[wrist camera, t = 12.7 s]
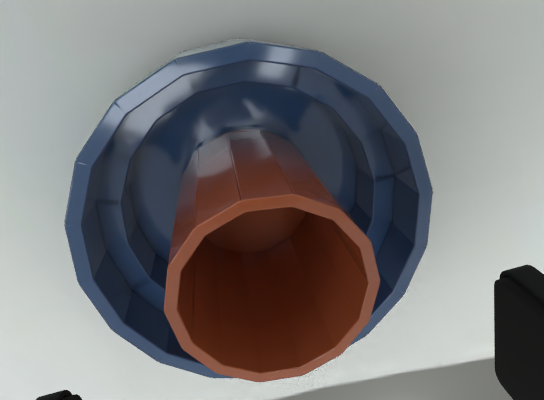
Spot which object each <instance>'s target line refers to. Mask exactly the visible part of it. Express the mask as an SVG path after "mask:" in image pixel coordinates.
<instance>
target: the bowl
mask: <svg viewBox="0 0 544 400" xmlns="http://www.w3.org/2000/svg"><path fill="white" fill-rule="evenodd" d="M239 129H260V130H264V131H269V132H272V133H274V134H277V135H279V136H281V137H283V138H285V139H286V140H288V141H289V142H291V143H292V144H293V145H294V146H295V147H296V148H297V149H298V150H299V151H300V153H301V154H302V155H303V156H304V157H305V158H306V159H307V160H308V161H309V162H310V164H311V165H312V166H313V168H314V169H315V170H316V171H317V173H318V174H319V175H320V177H321V178H322V179H323V180H324V182H325V183H326V184H327V185H328V187H329V188H330V189H331V191H332V192H333V193H334V194H335V196H336V197H337V198H338V200H339V201H340V202H341V203H342V205H343V206H344V207H345V209H346V210H347V211H348V212H349V214H350V215H351V216H352V218H353V219H354V220H355V221H356V223H357V224H358V225H359V226H360V228H361V229H362V230H363V232H364V233H365V234H366V235H367V237H368V238H369V239H370V241H371V243H372V247H373V251H374V256H375V260H376V264H377V269H378V273H379V277H380V285H379V289H378V292H377V296H376V299H375V303H374V306H373V310H372V314H371V317H370V320H369V322H368V324H367V325H366V326H365V327H364V328H363V329H362V331H361V332H360V333H359V334H358V335H357V337H356V338H355V339H354V340H353V341H352V343H351V344H350V345H352V344H353V343H355V342H357V341H358V340H360V339H362V338H363V337H365V336H366V334H368V333H369V332H370V331H371V330H372V329H373V328H374V327H375V326H376V325H377V324H378V323H379V322H380V320H381V319H382V318H383V317H384V316H385V315H386V314H387V313H388V312H389V311H390V310H391V309H392V307H393V306H394V305H395V304H396V303H397V302H398V301H399V300H400V299H401V298H402V297H403V294H405V292H406V289H407V287H408V285H409V283H410V281H411V279H412V277H413V275H414V272H415V270H416V268H417V266H418V264H419V262H420V260H421V258H422V255H423V253H424V251H425V249H426V245H427V242H428V233H429V223H430V213H431V203H432V193H433V191H432V186H431V182H430V179H429V175H428V171H427V168H426V164H425V160H424V157H423V153H422V149H421V146H420V142H419V139H418V135H417V133H416V131H415V130H414V129H413V128H412V126H411V125H410V124H409V122H408V121H407V120H406V119H405V117H404V116H403V115H402V113H401V112H400V111H399V110H398V108H397V107H396V106H395V104H394V103H393V102H392V100H391V99H390V98H389V97H388V95H387V94H386V93H385V91H384V90H383V89H382V88H381V86H379V85H378V84H377V83H375V82H374V81H372V80H370V79H368V78H367V77H365V76H363V75H361V74H360V73H358V72H356V71H354V70H353V69H351V68H349V67H347V66H346V65H344V64H342V63H340V62H339V61H337V60H335V59H333V58H332V57H330V56H328V55H326V54H325V53H323V52H319V51H317V50H312V49H307V48H302V47H297V46H292V45H285V44H278V43H271V42H264V41H257V40H249V39H242V38H239V39H231V40H227V41H223V42H219V43H215V44H210V45H206V46H202V47H198V48H194V49H189V50H185V51H183V52H180V53H178V54H177V55H176V56H174V57H173V58H171V59H170V60H168V61H167V62H165V63H164V64H163V65H161V66H160V67H158V68H157V69H155V70H154V71H153V72H151V73H150V74H148V75H147V76H145V77H144V78H142V79H141V80H140V81H138V82H137V83H135V84H134V85H133V86H132V87H130V88H129V89H128V90H127V91H125V92H124V93H123V94H122V95H120V96H119V97H118V98H117V99H116V100H115V101H114V102H113V103H112V104H111V106H110V107H109V109H108V110H107V112H106V113H105V115H104V116H103V118H102V120H101V121H100V123H99V124H98V126H97V127H96V129H95V130H94V132H93V133H92V135H91V136H90V138H89V140H88V141H87V143H86V144H85V146H84V147H83V149H82V150H81V152H80V153H79V155H78V156H77V158H76V161H75V165H74V170H73V176H72V182H71V188H70V193H69V199H68V205H67V210H66V216H65V225H64V226H65V230H66V234H67V238H68V242H69V247H70V251H71V255H72V259H73V263H74V268H75V272H76V276H77V280H78V283H79V285H80V286H81V288H82V289H83V291H84V292H85V293H86V295H87V296H88V298H89V299H90V300H91V302H92V303H93V305H94V306H95V307H96V309H97V310H98V312H99V313H100V314H101V316H102V317H103V319H104V320H105V321H106V323H107V324H108V326H109V327H110V328H111V329H112V330H113V331H114V332H115V333H117V334H118V335H119V336H121V337H122V338H124V339H125V340H127V341H128V342H130V343H131V344H133V345H134V346H136V347H137V348H138V349H140V350H141V351H143V352H144V353H146V354H147V355H149V356H150V357H152V358H153V359H154V360H156V361H158V362H160V363H163V364H166V365H169V366H173V367H176V368H180V369H183V370H186V371H190V372H193V373H197V374H200V375H203V376H207V377H210V378H212V377H213V378H235V377H230V376H225V375H221V374H217V373H215V372H213V371H212V370H211V369H209V368H208V367H206V366H205V365H204V364H202V363H201V362H199V361H198V360H197V359H195V358H194V357H193V356H191V355H190V354H188V353H187V352H186V351H184V350H183V349H182V348H181V346H180V344H179V342H178V340H177V338H176V336H175V334H174V331H173V329H172V327H171V325H170V323H169V321H168V319H167V317H166V315H165V313H164V300H165V289H166V277H167V267H168V260H169V254H170V247H171V241H172V234H173V228H174V221H175V215H176V208H177V202H178V195H179V189H180V182H181V177H182V175H183V173H184V171H185V169H186V167H187V165H188V163H189V161H190V160H191V158H192V157H193V155H194V154H195V153H196V152H197V151H198V150H199V149H200V148H201V147H202V146H203V145H204V144H206V143H207V142H208V141H210V140H211V139H213V138H215V137H217V136H219V135H221V134H223V133H226V132H229V131H233V130H239ZM350 345H349V346H350Z"/></svg>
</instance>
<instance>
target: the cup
mask: <svg viewBox="0 0 544 400" xmlns="http://www.w3.org/2000/svg"><path fill="white" fill-rule="evenodd" d="M379 285H380V277H379V273H378V269H377V264H376V260H375V256H374V251H373V247H372V243H371V241H370V239H369V238H368V237H367V235H366V234H365V233H364V232H363V230H362V229H361V228H360V226H359V225H358V224H357V223H356V221H355V220H354V219H353V218H352V216H351V215H350V214H349V212H348V211H347V210H346V209H345V207H344V206H343V205H342V203H341V202H340V201H339V200H338V198H337V197H336V196H335V194H334V193H333V192H332V191H331V189H330V188H329V187H328V185H327V184H326V183H325V182H324V180H323V179H322V178H321V177H320V175H319V174H318V173H317V171H316V170H315V169H314V168H313V166H312V165H311V164H310V162H309V161H308V160H307V159H306V158H305V157H304V156H303V155H302V154H301V153H300V151H299V150H298V149H297V148H296V147H295V146H294V145H293V144H292V143H291V142H289V141H288V140H286V139H285V138H283V137H281V136H279V135H277V134H274V133H272V132H269V131H264V130H260V129H239V130H233V131H229V132H226V133H223V134H221V135H219V136H217V137H215V138H213V139H211V140H210V141H208V142H207V143H206V144H204V145H203V146H202V147H201V148H200V149H199V150H198V151H197V152H196V153H195V154H194V155H193V157H192V158H191V160H190V161H189V163H188V165H187V167H186V169H185V171H184V173H183V175H182V177H181V182H180V189H179V195H178V202H177V208H176V215H175V221H174V228H173V234H172V241H171V247H170V254H169V260H168V267H167V277H166V289H165V300H164V313H165V315H166V317H167V319H168V321H169V323H170V325H171V327H172V329H173V331H174V334H175V336H176V338H177V340H178V342H179V344H180V346H181V348H182V349H183V350H184V351H186V352H187V353H188V354H190V355H191V356H193V357H194V358H195V359H197V360H198V361H199V362H201V363H202V364H204V365H205V366H206V367H208V368H209V369H211V370H212V371H213V372H215V373H217V374H221V375H225V376H230V377H235V378H240V379H245V380H250V381H254V382H265V381H271V380H278V379H284V378H290V377H297V376H302V375H305V374H307V373H308V372H310V371H312V370H314V369H316V368H318V367H319V366H321V365H323V364H325V363H327V362H328V361H330V360H332V359H334V358H336V357H337V356H339V355H341V353H343V352H344V351H345V350H346V349H347V347H348V346H349V345H350V344H351V343H352V341H353V340H354V339H355V338H356V337H357V335H358V334H359V333H360V332H361V331H362V329H363V328H364V327H365V326H366V325H367V324H368V322H369V320H370V317H371V314H372V310H373V306H374V303H375V299H376V296H377V292H378V289H379Z"/></svg>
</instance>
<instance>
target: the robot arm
mask: <svg viewBox="0 0 544 400" xmlns="http://www.w3.org/2000/svg"><path fill="white" fill-rule="evenodd" d="M494 323H495V372H496V375H497V378H498V380H499V382H500V383H501V385H502V386H503V387H504V389H505V390H506V391H507V392H508V394H509V395H510V396H511V397H512V399H513V400H544V274H542V273H541V272H540V271H538V270H537V269H536V268H534V267H533V266H531V265H524V266H521V267H517V268H513V269H510V270H506V271H503V272H502V273H501V274H500V279H499V280H496V281H495V284H494ZM36 400H82V399H81V397H80V396H79V395H77V394H76V395H72V394H71V392H70V391H68V390H63V391H59V392H56V393H52V394H48V395H45V396H41V397H39V398H37V399H36Z"/></svg>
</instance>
